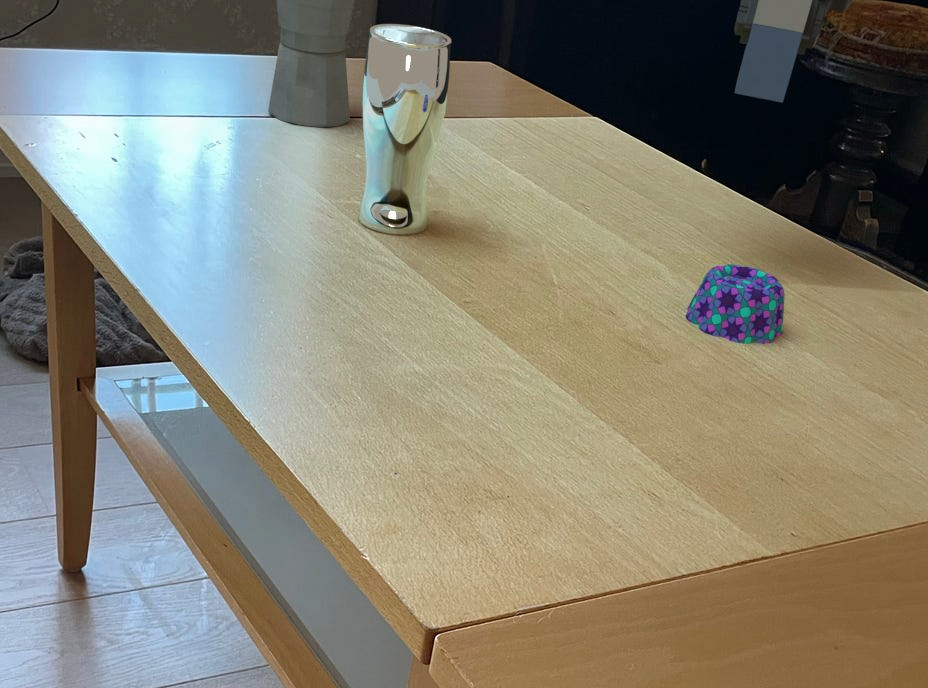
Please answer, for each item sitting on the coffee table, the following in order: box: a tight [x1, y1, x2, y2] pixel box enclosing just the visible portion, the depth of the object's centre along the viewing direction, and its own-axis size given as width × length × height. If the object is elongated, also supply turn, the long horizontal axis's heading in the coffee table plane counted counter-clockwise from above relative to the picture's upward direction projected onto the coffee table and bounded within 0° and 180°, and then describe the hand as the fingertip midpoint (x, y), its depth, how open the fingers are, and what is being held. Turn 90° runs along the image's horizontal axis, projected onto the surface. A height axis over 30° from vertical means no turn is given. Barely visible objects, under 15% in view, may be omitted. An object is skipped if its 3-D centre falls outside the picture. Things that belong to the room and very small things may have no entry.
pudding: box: [685, 263, 786, 345], centre depth 88 cm, size 12×12×5 cm
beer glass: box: [357, 23, 452, 236], centre depth 97 cm, size 7×7×15 cm
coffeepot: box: [267, 0, 355, 128], centre depth 119 cm, size 15×9×18 cm, turn 27°
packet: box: [734, 0, 812, 103], centre depth 95 cm, size 4×6×8 cm, turn 166°
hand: (773, 41), depth 93 cm, fingers closed on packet, 4 cm apart
